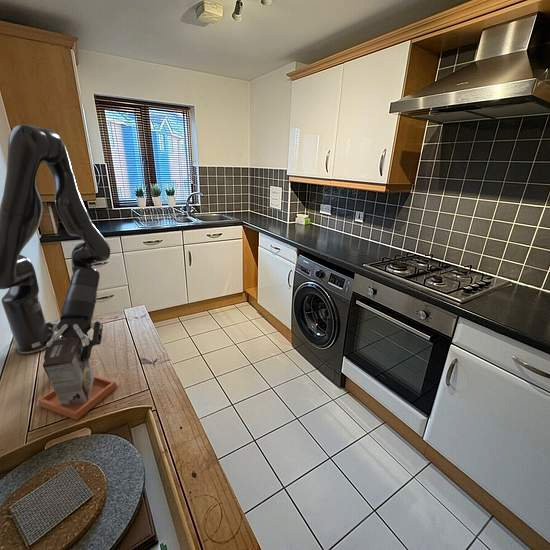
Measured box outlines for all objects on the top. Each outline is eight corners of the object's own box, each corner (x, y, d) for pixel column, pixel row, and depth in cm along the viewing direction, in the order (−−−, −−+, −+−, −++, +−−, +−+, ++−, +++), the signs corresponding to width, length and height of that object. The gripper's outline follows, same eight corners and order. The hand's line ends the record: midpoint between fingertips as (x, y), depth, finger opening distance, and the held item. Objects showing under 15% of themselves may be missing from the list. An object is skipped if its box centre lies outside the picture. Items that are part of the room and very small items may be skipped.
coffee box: (70, 381, 84) (52, 339, 76) (95, 376, 86) (81, 335, 78) (61, 408, 77) (40, 365, 69) (88, 403, 79) (72, 360, 71)
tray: (39, 406, 78) (37, 400, 77) (82, 376, 89) (80, 370, 89) (77, 420, 74) (75, 414, 73) (116, 387, 85) (115, 381, 85)
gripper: (44, 299, 78) (27, 360, 72) (100, 298, 80) (88, 358, 73) (60, 307, 85) (45, 364, 79) (111, 306, 87) (101, 362, 80)
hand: (66, 361), depth 76 cm, fingers open, 8 cm apart
